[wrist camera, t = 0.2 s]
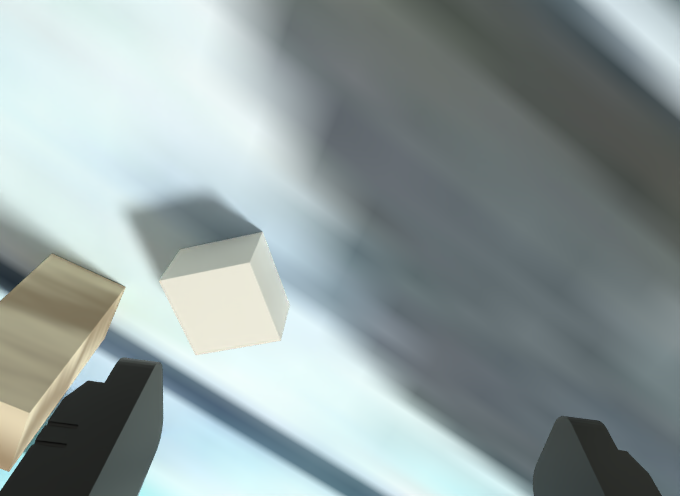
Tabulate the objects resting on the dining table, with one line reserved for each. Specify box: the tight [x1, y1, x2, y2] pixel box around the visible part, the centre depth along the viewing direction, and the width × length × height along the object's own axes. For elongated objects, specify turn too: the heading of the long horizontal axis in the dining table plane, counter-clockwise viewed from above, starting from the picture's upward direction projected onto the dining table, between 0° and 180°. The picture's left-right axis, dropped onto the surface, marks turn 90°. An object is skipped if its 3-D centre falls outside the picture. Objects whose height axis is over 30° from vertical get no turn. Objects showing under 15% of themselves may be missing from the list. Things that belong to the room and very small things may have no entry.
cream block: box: [159, 232, 290, 355], centre depth 30 cm, size 5×5×4 cm
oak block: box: [0, 254, 125, 472], centre depth 28 cm, size 4×4×10 cm
